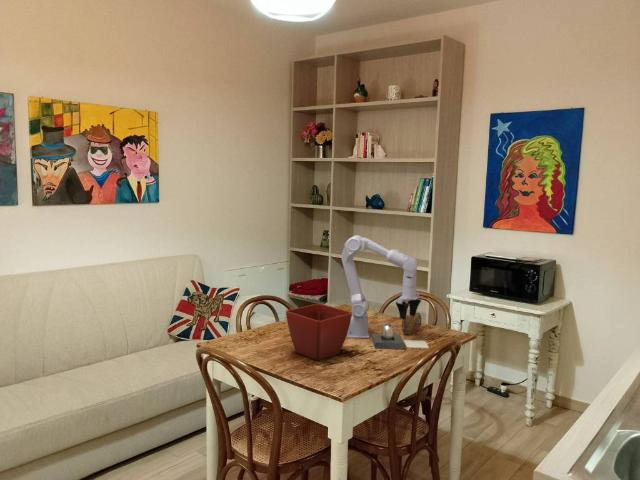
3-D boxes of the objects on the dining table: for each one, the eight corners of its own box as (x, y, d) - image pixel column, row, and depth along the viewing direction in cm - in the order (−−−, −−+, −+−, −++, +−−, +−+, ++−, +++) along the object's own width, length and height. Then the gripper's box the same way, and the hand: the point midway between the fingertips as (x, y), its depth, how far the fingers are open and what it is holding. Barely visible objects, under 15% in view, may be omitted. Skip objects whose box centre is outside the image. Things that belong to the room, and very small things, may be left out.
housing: (374, 348, 210) (374, 342, 210) (371, 339, 222) (372, 333, 222) (404, 349, 210) (404, 343, 210) (399, 339, 222) (399, 334, 222)
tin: (406, 336, 227) (407, 318, 226) (400, 335, 229) (400, 316, 228) (421, 329, 239) (422, 311, 238) (415, 327, 241) (416, 310, 240)
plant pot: (352, 353, 203) (353, 312, 201) (318, 365, 190) (319, 321, 188) (318, 342, 217) (318, 303, 215) (284, 352, 203) (284, 310, 201)
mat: (407, 348, 212) (407, 347, 212) (403, 341, 221) (403, 340, 221) (429, 348, 212) (429, 347, 212) (424, 341, 221) (424, 340, 221)
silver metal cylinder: (383, 345, 214) (384, 326, 213) (382, 342, 218) (382, 323, 217) (392, 345, 214) (393, 326, 213) (391, 342, 218) (392, 323, 217)
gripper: (408, 290, 211) (406, 322, 213) (426, 285, 222) (424, 316, 224) (393, 287, 216) (392, 318, 218) (412, 282, 227) (410, 312, 228)
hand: (407, 317), depth 221 cm, fingers open, 7 cm apart
